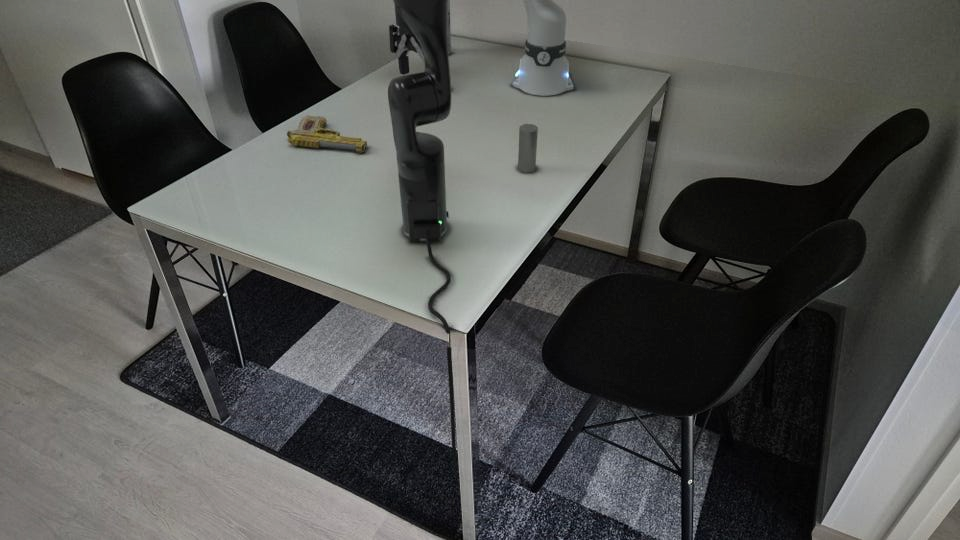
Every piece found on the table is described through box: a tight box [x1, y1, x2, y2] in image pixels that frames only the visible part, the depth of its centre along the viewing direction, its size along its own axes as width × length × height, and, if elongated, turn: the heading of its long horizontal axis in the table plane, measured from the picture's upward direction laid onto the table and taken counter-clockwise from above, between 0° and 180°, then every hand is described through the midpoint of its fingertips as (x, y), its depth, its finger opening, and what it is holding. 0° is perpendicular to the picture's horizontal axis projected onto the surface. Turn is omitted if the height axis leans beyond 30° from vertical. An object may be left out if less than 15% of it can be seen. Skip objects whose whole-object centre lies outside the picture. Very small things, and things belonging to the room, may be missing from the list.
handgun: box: [286, 115, 368, 154], centre depth 166 cm, size 2×23×15 cm
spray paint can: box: [447, 0, 452, 56], centre depth 212 cm, size 6×6×20 cm
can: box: [517, 123, 539, 174], centre depth 150 cm, size 4×4×11 cm
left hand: (417, 78), depth 138 cm, fingers open, 8 cm apart
